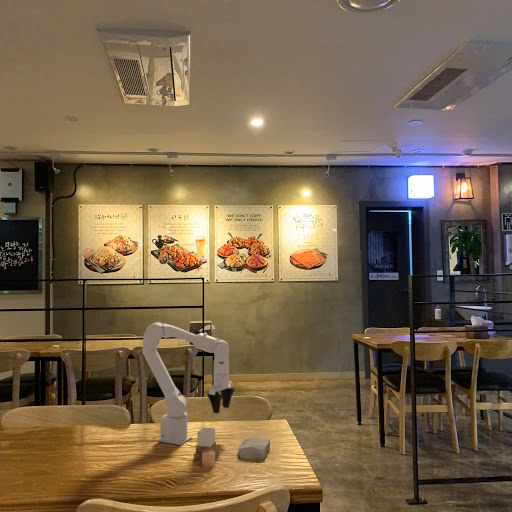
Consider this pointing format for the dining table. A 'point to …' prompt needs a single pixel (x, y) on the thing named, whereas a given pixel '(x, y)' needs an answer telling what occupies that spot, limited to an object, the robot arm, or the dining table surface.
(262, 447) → the stone block
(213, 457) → the tan rounded block
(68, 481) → the dining table surface
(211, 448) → the walnut block
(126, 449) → the dining table surface
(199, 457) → the walnut slab
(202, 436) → the blue-grey cube
